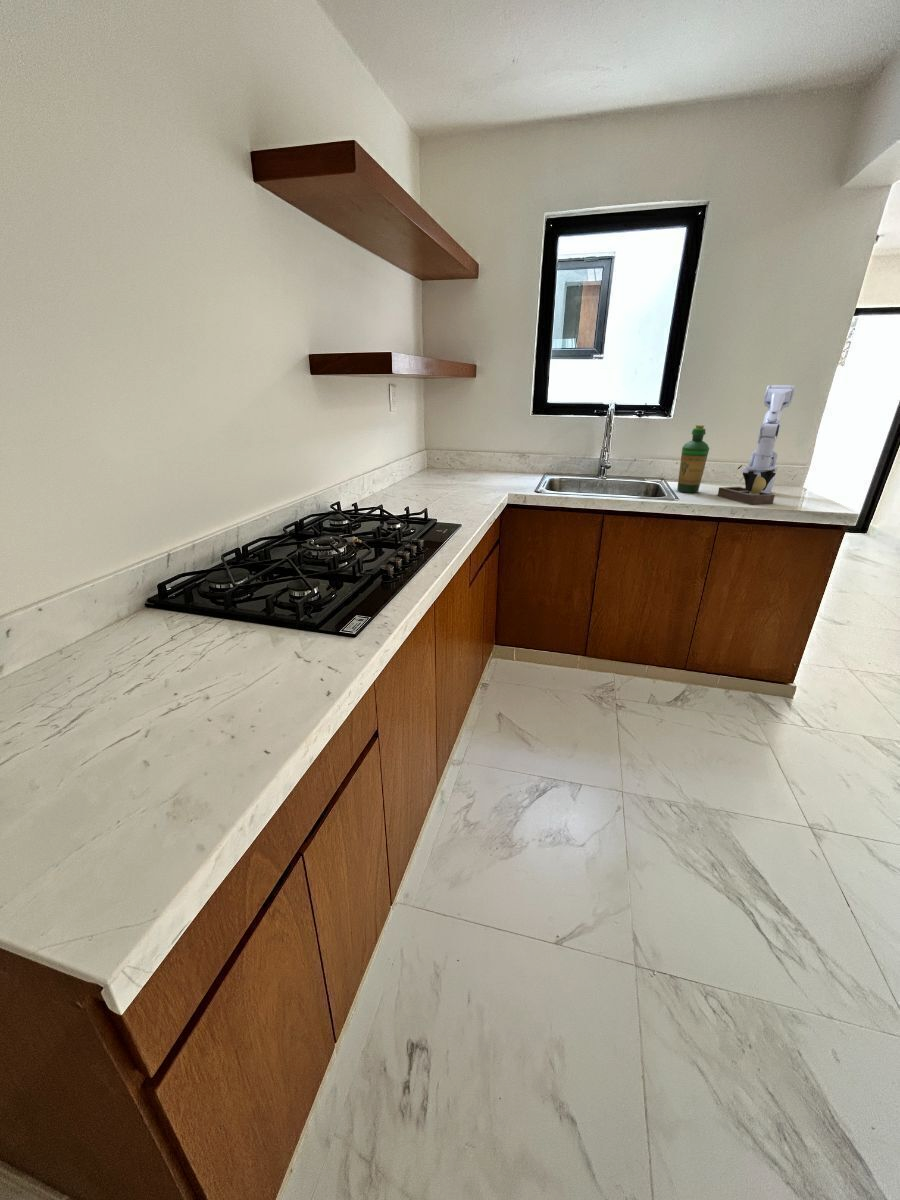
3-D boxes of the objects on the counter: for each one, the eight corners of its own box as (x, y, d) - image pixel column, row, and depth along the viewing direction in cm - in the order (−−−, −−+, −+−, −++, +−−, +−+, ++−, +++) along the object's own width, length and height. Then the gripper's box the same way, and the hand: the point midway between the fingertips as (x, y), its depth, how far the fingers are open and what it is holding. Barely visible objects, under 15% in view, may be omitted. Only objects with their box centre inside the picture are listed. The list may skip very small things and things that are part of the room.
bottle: (674, 492, 220) (686, 425, 209) (674, 488, 229) (686, 424, 218) (701, 494, 216) (714, 426, 206) (699, 490, 226) (713, 425, 215)
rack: (737, 494, 217) (739, 486, 216) (772, 503, 200) (775, 494, 199) (717, 495, 215) (719, 487, 213) (751, 504, 198) (753, 495, 196)
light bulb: (756, 499, 206) (763, 475, 202) (764, 503, 200) (770, 477, 196) (740, 499, 207) (746, 474, 203) (747, 502, 201) (753, 477, 197)
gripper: (756, 457, 191) (747, 492, 197) (787, 456, 194) (777, 491, 200) (742, 455, 198) (734, 489, 203) (772, 454, 201) (763, 488, 206)
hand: (754, 490), depth 202 cm, fingers closed on light bulb, 6 cm apart
